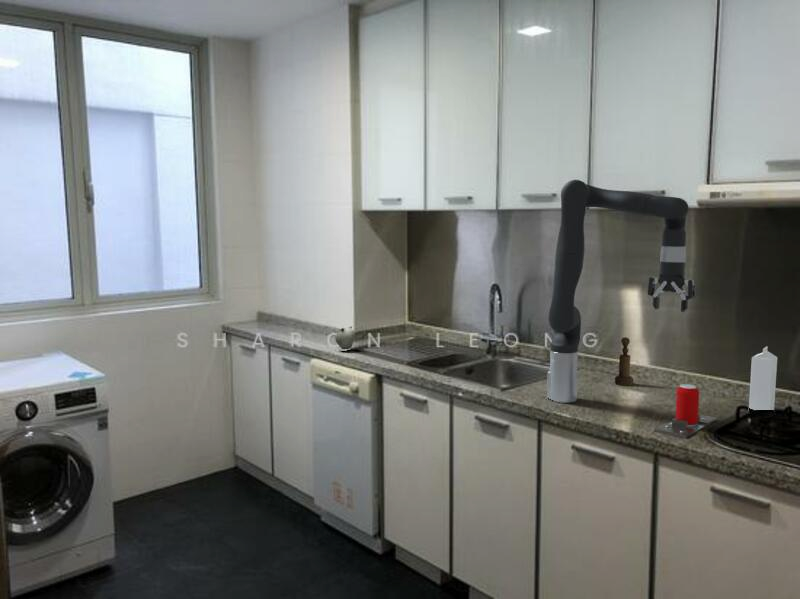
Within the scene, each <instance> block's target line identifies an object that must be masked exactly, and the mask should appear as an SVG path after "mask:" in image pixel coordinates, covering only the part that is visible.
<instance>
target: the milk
mask: <svg viewBox="0 0 800 599" xmlns="http://www.w3.org/2000/svg"><path fill="white" fill-rule="evenodd" d="M768 347H769V346H765V347H764V348H762V352H761V353H756V355H753V356H752V357H751V368H750V381H749V382H750V385H749V400H748V402H749V403H748V409H749V408H750V409H753V410H774V411H775V403H776V401H775V400H776V399H775V398H776V388H777V387H776V384H777V383H776V382H777V369H778V368H777V367H778V356H776V355H775V354H773V353H772V352H770V351H768V349H769V348H768Z"/></svg>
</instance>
